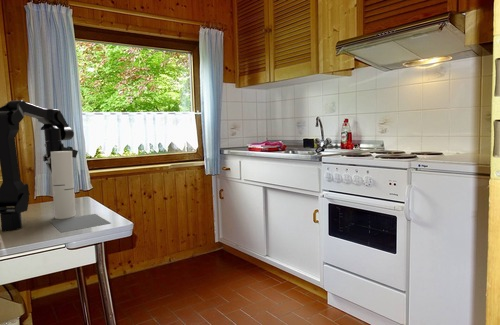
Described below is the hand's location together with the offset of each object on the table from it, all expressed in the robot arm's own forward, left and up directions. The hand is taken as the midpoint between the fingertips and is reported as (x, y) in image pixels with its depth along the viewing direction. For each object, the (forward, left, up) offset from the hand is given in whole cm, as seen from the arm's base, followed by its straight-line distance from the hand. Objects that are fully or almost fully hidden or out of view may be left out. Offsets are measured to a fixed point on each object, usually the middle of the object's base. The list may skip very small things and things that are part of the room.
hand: (56, 179), depth 144 cm
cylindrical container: (-11, -7, -14) cm, 18 cm away
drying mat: (-22, -16, -13) cm, 30 cm away
